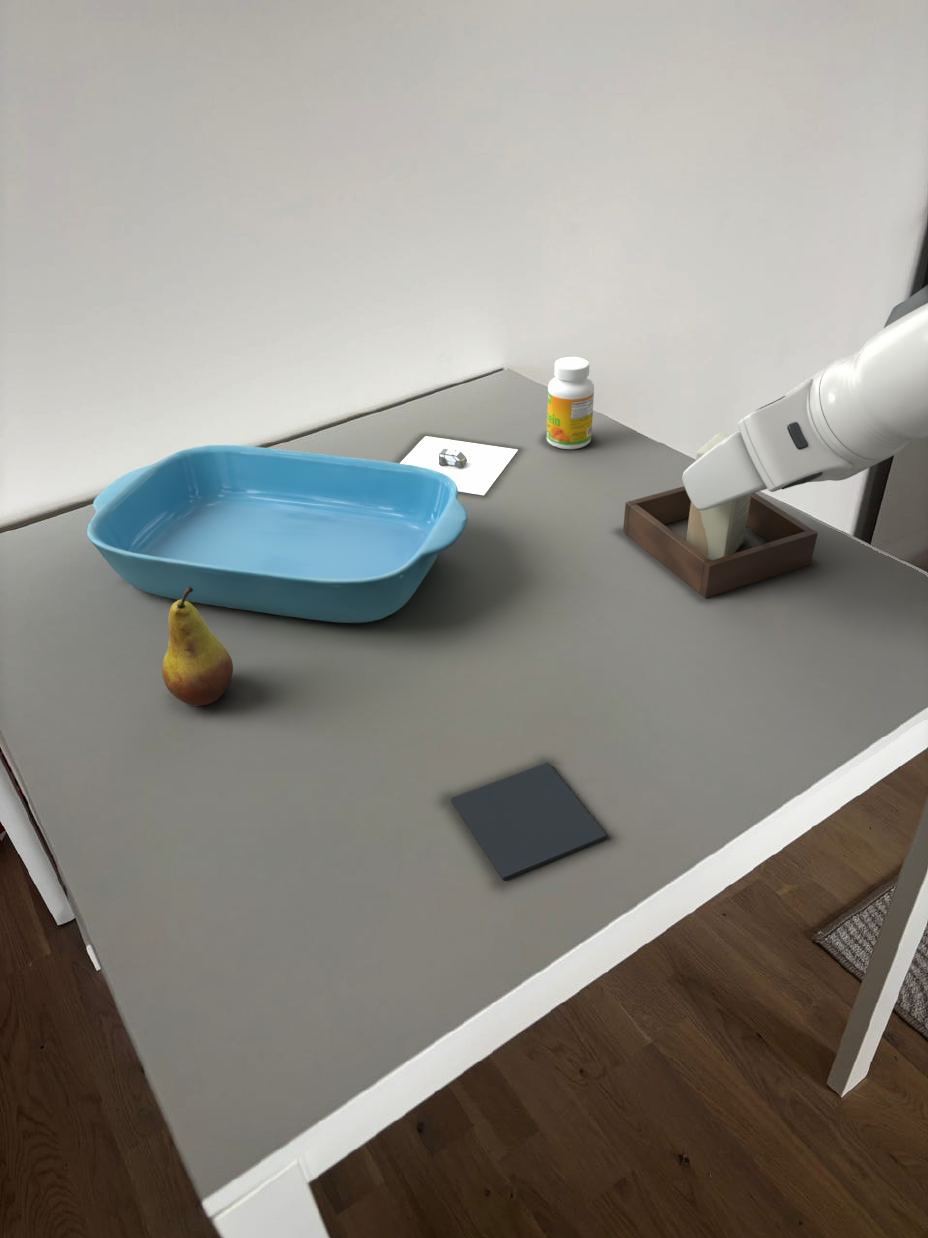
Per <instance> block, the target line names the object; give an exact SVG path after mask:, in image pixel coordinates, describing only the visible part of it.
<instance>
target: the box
mask: <svg viewBox="0 0 928 1238" xmlns="http://www.w3.org/2000/svg"><path fill="white" fill-rule="evenodd" d="M730 435H731V434H726V433H722V432H717V433H716V434H715V435H713V437H711V438H710V439H709V440H708V441H707V442H706V443H705V444H704V445H702V447H700V449H699V450H698V451H697V452H696V458H695V461H697V460H698V459H699V458H700V457H702V456H703V455H704V454H705V453H707V452H708V451H709V450H710V449H712V448H713V447H714V446H716V445H717V444H718V443H720V442H721V441H723V440H724V439H725V438H727V437H729V436H730ZM750 500H751V494H750V495H747V496H744V497H741V498H739V499H736V500H733V501H730V502H728V503H725V504H722V505H719V506H717V507H714V508H711V509H707V510H703V511H700V510H697V509H696V508H695V507H694V505H693V503H692V502H691V506H690V513H689V518H688V521H687V531H686V539H685V541H686V542H687V543H689V544H690V545H691V546H693V547H694V548H695V549H697V550H698V551H699V552H701V553H702V554H703V555H705V556H706V557H707V558H709V559H710V560H714V559H718V558H721V557H724V556H727V555H731V554H734V553H736V551H737V550H738V549H739V548H740V547H741V545H742V544H743V543H744V541H745V535H746V529H747V526H746V524H747V518H748V512H749V506H750Z"/></svg>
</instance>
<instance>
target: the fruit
mask: <svg viewBox="0 0 928 1238" xmlns="http://www.w3.org/2000/svg"><path fill="white" fill-rule="evenodd" d="M192 591H193V589H192V588H191V587H190V586H189V587H188V588H187V589H186V591H185V593H184V595H183V598H182V600H178V599H177V600H175V602H173V603H172V604H171V606H170V608H169V611H168V612H169V613H168V619H167V621H168V632H169V633H168V634H169V635H168V637H169V638H168V642H167V650H166V651H165V654H164V657H163V660H162V663H161V674H162V679H163V682H164V684H165V686H166V689H167V690H168V691H169V693H170V694H171V695H173V696H174V697H175V698H176V699H178V701H181V702H183V703H184V704H186V705H190V706H196V707H199V706H201V707H202V706H207V705H210V704H212V703H214V702H215V701H217V700H218V699H220V697H221V696H222V695H223V694H224V693H225V692H226V690H227V689H228V688H229V685H230V683H231V681H232V677H233V673H234V664H233V659H232V658H231V656H230V653H229V652H228V650H227V649H226V648H225V646H224V645H223V644H222V643H221V642H220V641H219V639H218V638H217V637H216V636H215V635H214V634H213V632H212V631H211V630H210V629H209V627H208V625H207V623H206V622H205V620H204V618H203V617H202V616H201V614H200V612H199V611H198V609H197V608H196V607H195V606H194V605H193V603H191V602H190V601H185V599H186V597H187V596H188V594H189V593H190V592H192Z"/></svg>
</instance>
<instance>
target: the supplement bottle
mask: <svg viewBox="0 0 928 1238" xmlns="http://www.w3.org/2000/svg"><path fill="white" fill-rule="evenodd" d="M589 375H590V362H589V360H587V359H586V358H582V357H580V356H579V357H578V356H565V357H561V358H558V359H556V360H555V362H554V377H553V378H552V379H551V380H550V381H549V383H548V385H547V409H546V412H547V413H546V441H547V443H549V444H550V445H551V446H553V447H555V448H558V449H563V450H576V449H582V448H584V447H586V446H587V445H588V444H590V443H591V440H592V435H593V434H592V433H593V415H594V400H595V399H594V397H595V385H594V383H593V381H592V380H591V379H590V378H589Z"/></svg>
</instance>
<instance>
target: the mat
mask: <svg viewBox="0 0 928 1238" xmlns="http://www.w3.org/2000/svg"><path fill="white" fill-rule="evenodd" d="M450 802H451V803H452V804H453V805H452V806H454V808H455V809H456V811H457V812H458V814H459V815H460V817H461V818H462V820H463V821H464V823H465V825H466V826H467V827H468V830H469V831H470V832H471V834H472V835H473V837H474V839H475V840H476V841H477V843H478V844H479V846H480V847H481V849H482V850H483V852H484V854H485V855H486V856H487V858H488V860H489V861H490V863H491V865H492V866H493V868H494V869H495V871H496V872H497V874H498V875H499V877H500V878H501V880H502V881H506V880H508V879H510V878H513V877H515V876H518V875H520V874H522V873H525V872H527V871H530V870H532V869H535V868H537V867H540V866H542V865H544V864H547V863H550V862H552V861H554V860H557V859H559V858H562V857H563V856H566V855H569V854H571V853H574V852H576V851H579V850H581V849H583V848H587V847H589V846H590V845H591V846H592V845H593V844H596V843H598V842H601V841H602V840H606V839H607V836H608V835H607V834H606V832H605V831H604V830H603V829H602V828H601V826H600V824H599V823H597V821H596V820H595V818H593V816H592V815H591V814H590V813H589V811H588V810H587V809H586V807H585V806H584V805H583V803H581V801H580V800H579V799H578V797H577V796H576V795H575V793H574V792H573V791H572V790H571V788H570V787H569V786H568V785H567V784H566V783H565V781H564V780H563V779H562V778H561V777H560V775H559V774H558V772H557V771H556V769H554V767H553V766H552V765H551V764H550V763H549V762H548V761H547V762H544V763H542V764H539V765H536V766H534V767H531V768H529V769H526V770H523V771H521V772H517V773H515V774H512V775H509V776H507V777H504V778H502V779H498V780H496V781H493V782H491V783H488V784H485V785H483V786H479V787H477V788H475V789H472V790H469V791H466V792H464V793H461V794H458V795H457V796H453V797H451V798H450Z"/></svg>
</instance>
